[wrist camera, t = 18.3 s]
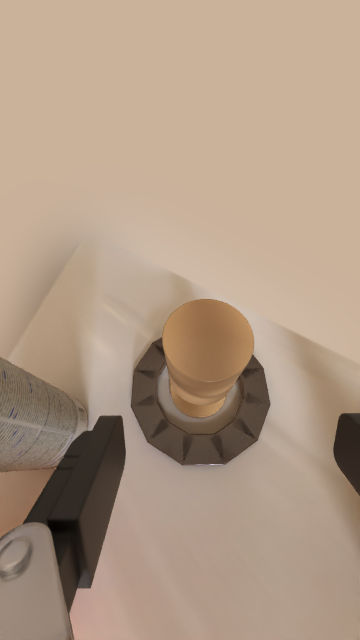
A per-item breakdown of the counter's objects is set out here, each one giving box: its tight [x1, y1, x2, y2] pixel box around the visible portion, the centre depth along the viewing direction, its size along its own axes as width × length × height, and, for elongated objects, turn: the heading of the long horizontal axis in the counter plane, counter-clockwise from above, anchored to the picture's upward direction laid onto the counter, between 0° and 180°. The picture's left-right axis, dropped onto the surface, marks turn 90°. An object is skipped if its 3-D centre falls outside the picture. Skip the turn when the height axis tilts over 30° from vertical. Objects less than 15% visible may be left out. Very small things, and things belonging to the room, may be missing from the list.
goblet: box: [162, 299, 254, 418], centre depth 20 cm, size 6×6×13 cm
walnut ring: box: [131, 338, 270, 465], centre depth 25 cm, size 14×14×1 cm
